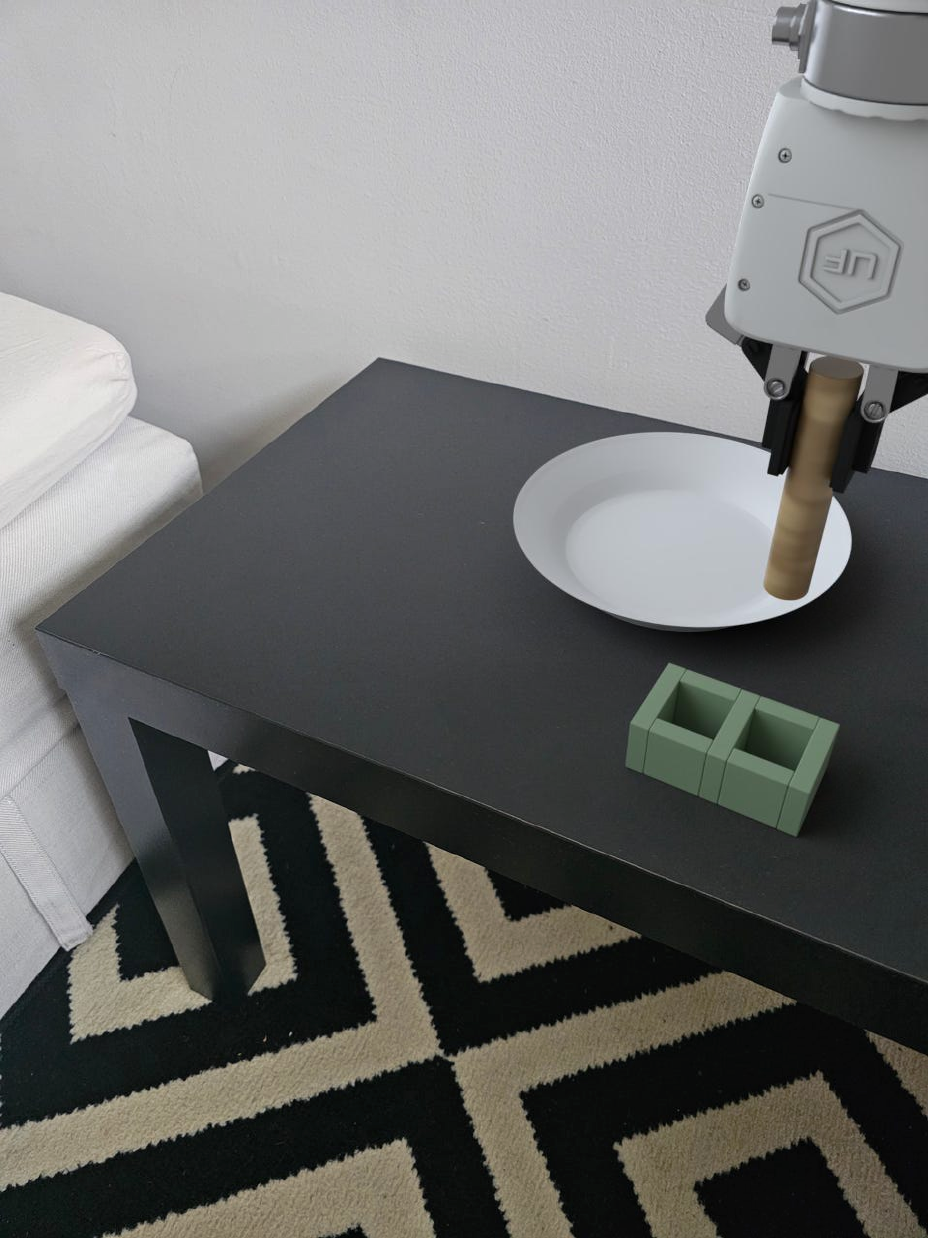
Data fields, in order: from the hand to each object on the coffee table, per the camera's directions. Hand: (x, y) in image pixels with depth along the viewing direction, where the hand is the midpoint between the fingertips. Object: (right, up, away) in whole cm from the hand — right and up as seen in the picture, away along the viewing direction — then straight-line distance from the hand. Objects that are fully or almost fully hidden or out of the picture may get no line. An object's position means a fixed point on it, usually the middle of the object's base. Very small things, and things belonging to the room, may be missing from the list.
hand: (813, 467), depth 50 cm
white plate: (-1, -3, +29) cm, 29 cm away
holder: (-1, -17, +13) cm, 21 cm away
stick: (0, -6, +5) cm, 8 cm away
